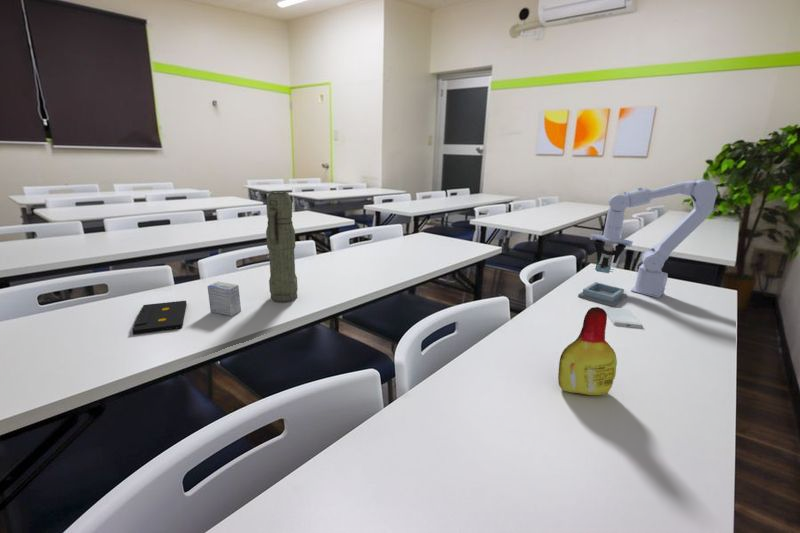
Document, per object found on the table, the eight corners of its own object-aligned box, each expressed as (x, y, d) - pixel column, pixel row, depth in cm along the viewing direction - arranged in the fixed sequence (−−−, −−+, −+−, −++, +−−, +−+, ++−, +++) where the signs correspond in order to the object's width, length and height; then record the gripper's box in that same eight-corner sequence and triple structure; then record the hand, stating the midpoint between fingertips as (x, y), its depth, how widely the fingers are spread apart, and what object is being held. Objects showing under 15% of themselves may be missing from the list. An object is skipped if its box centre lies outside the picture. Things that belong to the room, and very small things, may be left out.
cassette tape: (144, 310, 121) (143, 304, 121) (187, 305, 126) (186, 299, 125) (133, 336, 106) (131, 329, 105) (182, 330, 110) (181, 323, 109)
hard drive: (602, 306, 134) (614, 321, 122) (629, 309, 132) (643, 324, 121) (601, 310, 134) (613, 326, 122) (628, 313, 133) (642, 329, 121)
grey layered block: (241, 311, 122) (239, 284, 119) (231, 316, 118) (228, 289, 115) (220, 307, 124) (218, 280, 122) (210, 312, 120) (206, 285, 118)
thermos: (264, 303, 128) (256, 193, 117) (276, 290, 139) (270, 189, 129) (292, 305, 128) (286, 195, 117) (302, 291, 139) (297, 190, 129)
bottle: (558, 397, 86) (574, 312, 80) (550, 380, 92) (564, 300, 86) (615, 401, 85) (635, 315, 79) (603, 384, 91) (621, 303, 85)
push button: (610, 271, 158) (618, 247, 155) (614, 275, 153) (622, 251, 150) (593, 268, 159) (600, 244, 156) (596, 272, 154) (604, 248, 151)
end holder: (626, 297, 146) (628, 289, 145) (613, 306, 136) (615, 298, 135) (592, 288, 154) (593, 280, 153) (578, 296, 144) (579, 289, 143)
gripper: (589, 224, 153) (583, 258, 157) (631, 231, 143) (623, 267, 147) (596, 222, 158) (590, 255, 162) (637, 228, 148) (629, 263, 152)
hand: (606, 260), depth 155 cm, fingers closed on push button, 5 cm apart
